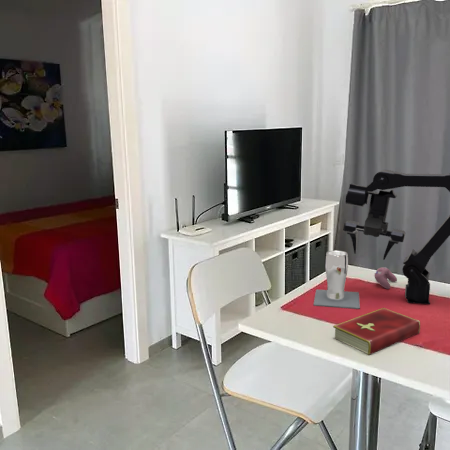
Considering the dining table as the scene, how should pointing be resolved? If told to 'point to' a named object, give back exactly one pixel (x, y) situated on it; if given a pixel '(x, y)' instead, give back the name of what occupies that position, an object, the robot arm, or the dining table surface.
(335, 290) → the beer glass
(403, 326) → the hardcover book
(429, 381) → the dining table surface
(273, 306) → the dining table surface
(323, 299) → the coaster
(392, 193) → the robot arm
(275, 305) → the dining table surface
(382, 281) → the video game controller
